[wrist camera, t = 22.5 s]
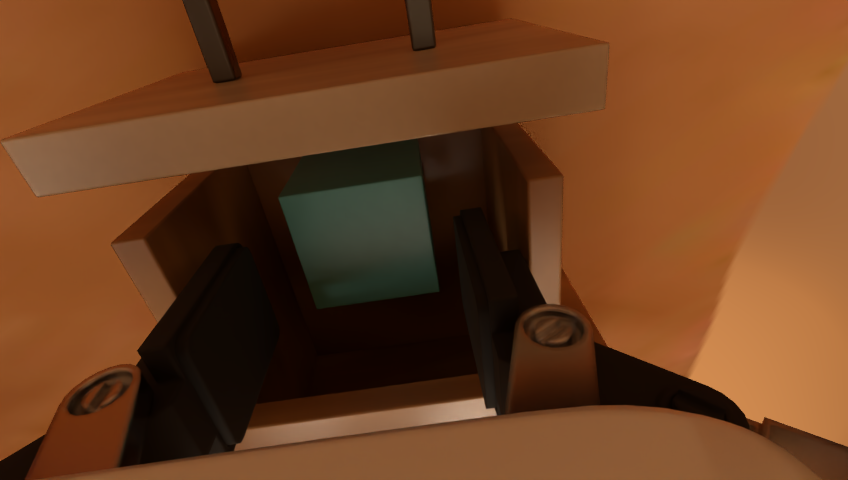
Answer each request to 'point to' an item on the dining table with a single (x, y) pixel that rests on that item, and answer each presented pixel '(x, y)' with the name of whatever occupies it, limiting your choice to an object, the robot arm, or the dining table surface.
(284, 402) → the cabinet
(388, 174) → the block
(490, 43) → the drawer
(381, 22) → the dining table surface
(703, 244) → the dining table surface
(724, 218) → the dining table surface
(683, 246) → the dining table surface
